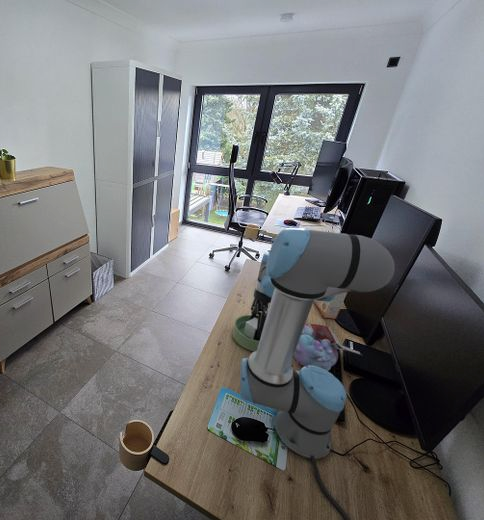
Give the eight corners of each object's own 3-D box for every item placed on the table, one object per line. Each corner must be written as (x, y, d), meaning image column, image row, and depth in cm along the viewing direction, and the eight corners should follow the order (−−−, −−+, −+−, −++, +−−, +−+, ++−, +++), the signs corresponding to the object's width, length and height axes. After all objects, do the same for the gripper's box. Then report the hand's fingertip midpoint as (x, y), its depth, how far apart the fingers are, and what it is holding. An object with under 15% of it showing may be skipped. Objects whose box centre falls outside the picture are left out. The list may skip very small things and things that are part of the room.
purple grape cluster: (270, 339, 117) (302, 322, 104) (298, 318, 128) (330, 300, 115) (306, 386, 110) (346, 374, 96) (332, 359, 121) (371, 345, 107)
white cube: (264, 336, 123) (267, 325, 120) (255, 341, 120) (258, 330, 117) (252, 328, 127) (255, 317, 125) (243, 333, 125) (246, 322, 122)
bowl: (279, 355, 116) (282, 344, 113) (235, 350, 118) (237, 339, 115) (268, 327, 131) (271, 317, 128) (229, 323, 133) (231, 313, 131)
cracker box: (336, 319, 137) (352, 282, 127) (323, 317, 138) (337, 280, 128) (326, 302, 149) (339, 267, 140) (313, 301, 150) (326, 266, 141)
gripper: (283, 306, 103) (269, 353, 114) (268, 277, 122) (257, 319, 132) (261, 304, 104) (249, 351, 115) (250, 275, 123) (240, 317, 133)
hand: (253, 334), depth 124 cm, fingers closed on white cube, 8 cm apart
